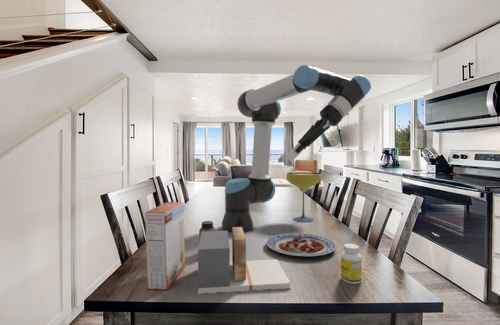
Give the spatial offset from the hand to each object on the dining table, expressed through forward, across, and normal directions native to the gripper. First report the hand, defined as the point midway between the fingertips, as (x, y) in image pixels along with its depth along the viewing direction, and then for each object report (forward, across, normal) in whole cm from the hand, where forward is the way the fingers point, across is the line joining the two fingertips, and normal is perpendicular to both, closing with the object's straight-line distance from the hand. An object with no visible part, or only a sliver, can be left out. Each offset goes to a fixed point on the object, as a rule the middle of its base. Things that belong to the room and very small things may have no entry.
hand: (288, 158), depth 95 cm
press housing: (+37, -16, -12) cm, 41 cm away
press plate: (+36, -16, -9) cm, 40 cm away
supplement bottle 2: (+15, -21, -33) cm, 42 cm away
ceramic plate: (+20, +6, -29) cm, 36 cm away
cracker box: (+52, -14, +4) cm, 54 cm away
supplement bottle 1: (+44, +4, -4) cm, 45 cm away
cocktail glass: (+9, +48, -39) cm, 63 cm away
